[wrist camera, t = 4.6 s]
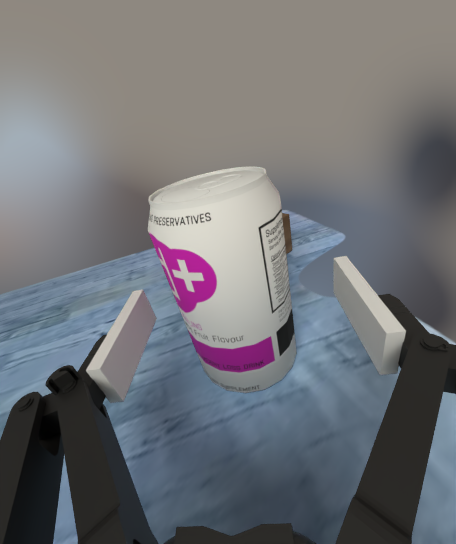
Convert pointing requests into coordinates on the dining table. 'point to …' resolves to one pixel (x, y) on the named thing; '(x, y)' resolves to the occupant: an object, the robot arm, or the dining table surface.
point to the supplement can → (228, 273)
